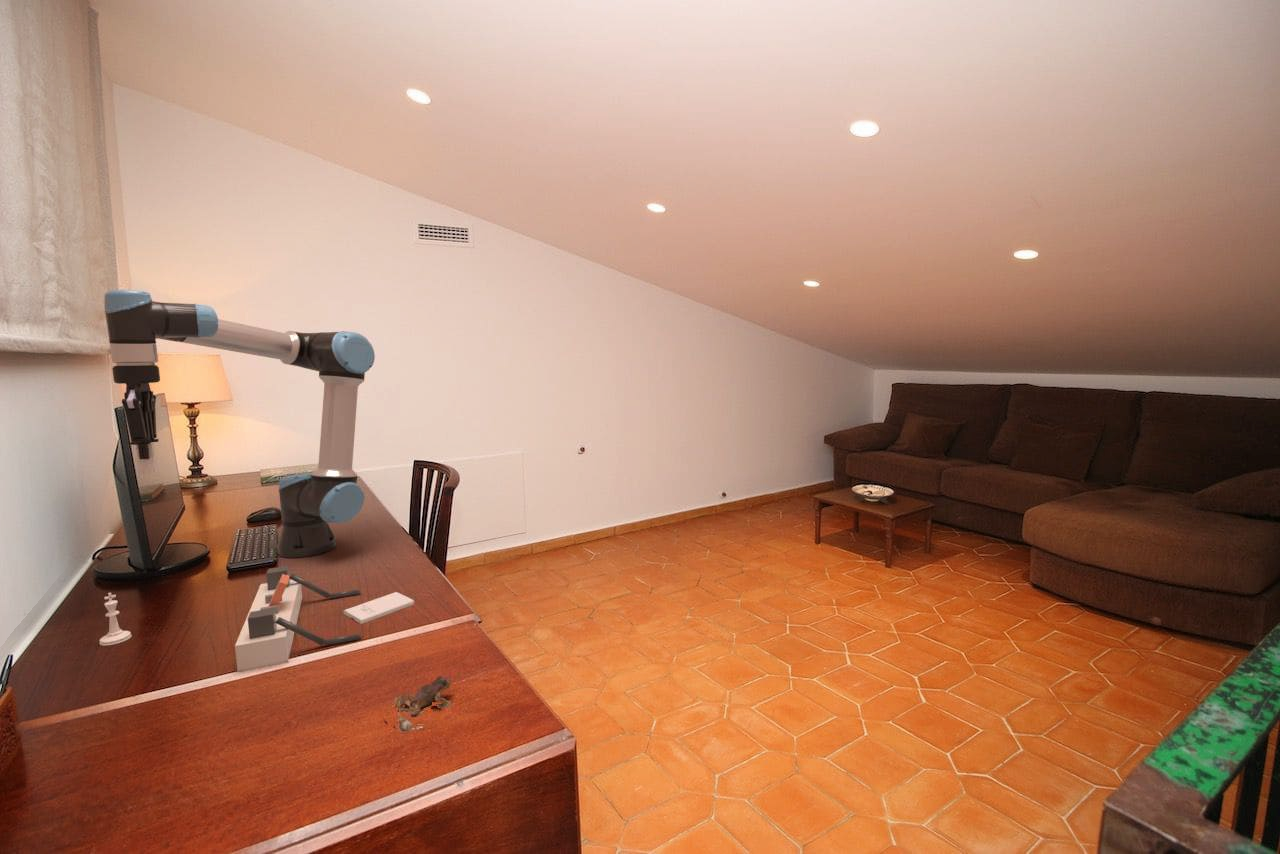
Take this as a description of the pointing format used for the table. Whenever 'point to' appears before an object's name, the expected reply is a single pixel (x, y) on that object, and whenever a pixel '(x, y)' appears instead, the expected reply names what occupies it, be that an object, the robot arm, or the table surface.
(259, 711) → the table surface
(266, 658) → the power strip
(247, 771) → the table surface
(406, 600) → the external hard drive
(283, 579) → the block
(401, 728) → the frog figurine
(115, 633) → the chess piece
